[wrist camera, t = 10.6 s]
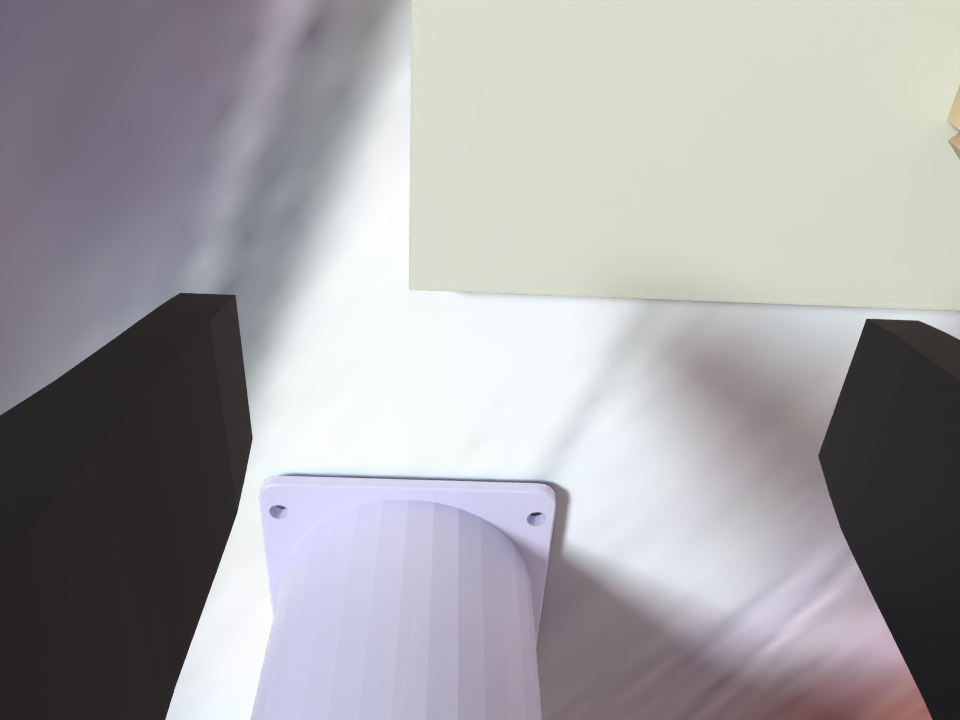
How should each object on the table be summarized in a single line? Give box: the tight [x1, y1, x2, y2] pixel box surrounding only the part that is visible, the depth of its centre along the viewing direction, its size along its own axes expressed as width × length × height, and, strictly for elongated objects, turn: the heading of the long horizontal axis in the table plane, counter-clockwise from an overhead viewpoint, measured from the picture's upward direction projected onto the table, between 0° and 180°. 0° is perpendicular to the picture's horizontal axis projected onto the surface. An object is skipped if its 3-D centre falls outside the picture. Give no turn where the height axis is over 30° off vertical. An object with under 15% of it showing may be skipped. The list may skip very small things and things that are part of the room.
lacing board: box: [409, 0, 960, 311], centre depth 15 cm, size 10×17×6 cm, turn 87°
